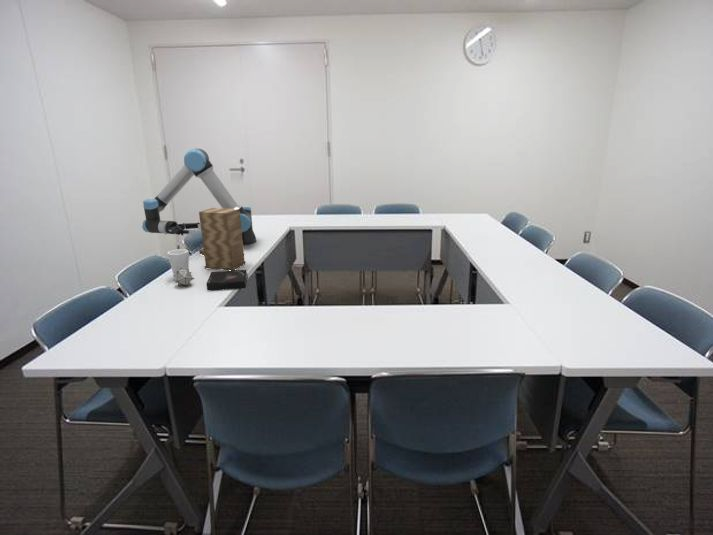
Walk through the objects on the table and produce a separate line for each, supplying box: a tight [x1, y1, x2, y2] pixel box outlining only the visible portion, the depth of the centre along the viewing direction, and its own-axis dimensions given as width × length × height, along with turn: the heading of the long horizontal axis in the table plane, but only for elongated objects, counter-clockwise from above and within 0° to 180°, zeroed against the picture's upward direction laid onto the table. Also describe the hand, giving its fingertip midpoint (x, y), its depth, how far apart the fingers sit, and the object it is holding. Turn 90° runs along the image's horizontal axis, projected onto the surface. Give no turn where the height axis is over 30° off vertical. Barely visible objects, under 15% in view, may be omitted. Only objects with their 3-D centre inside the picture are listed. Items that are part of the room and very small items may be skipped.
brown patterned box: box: [198, 207, 247, 271], centre depth 210 cm, size 17×13×30 cm
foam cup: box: [167, 248, 190, 277], centre depth 196 cm, size 10×9×13 cm
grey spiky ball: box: [172, 268, 195, 288], centre depth 187 cm, size 9×8×10 cm
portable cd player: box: [206, 269, 248, 291], centre depth 190 cm, size 16×17×4 cm
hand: (201, 229), depth 228 cm, fingers open, 13 cm apart
